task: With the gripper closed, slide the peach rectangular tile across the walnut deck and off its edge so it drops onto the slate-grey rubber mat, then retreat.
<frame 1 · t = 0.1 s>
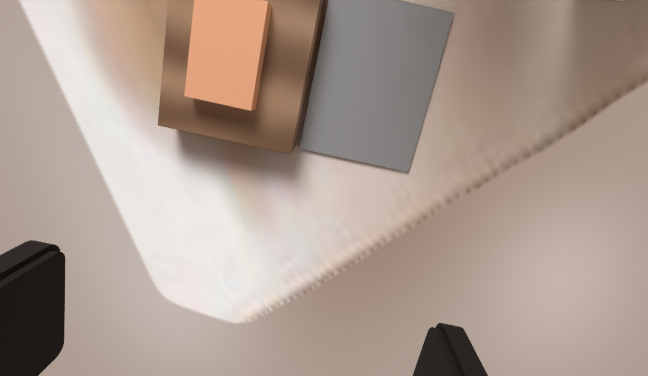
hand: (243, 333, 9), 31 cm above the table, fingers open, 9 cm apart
deck: (246, 56, 37), on the table
peach rectangular tile: (231, 52, 33), point 4 cm above the table, touching deck
mat: (372, 84, 37), on the table
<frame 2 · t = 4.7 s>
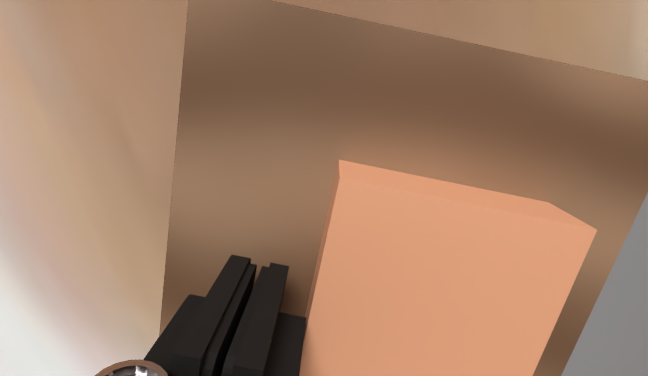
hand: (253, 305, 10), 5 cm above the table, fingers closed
deck: (363, 252, 15), on the table
peach rectangular tile: (402, 317, 11), point 4 cm above the table, touching deck, gripper
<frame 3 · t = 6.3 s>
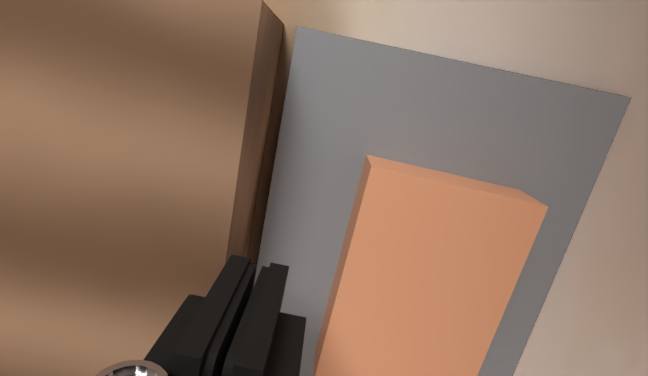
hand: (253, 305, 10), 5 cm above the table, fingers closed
deck: (94, 199, 15), on the table
peach rectangular tile: (420, 303, 13), point 2 cm above the table, tilted 180°, touching mat
mat: (405, 261, 15), on the table
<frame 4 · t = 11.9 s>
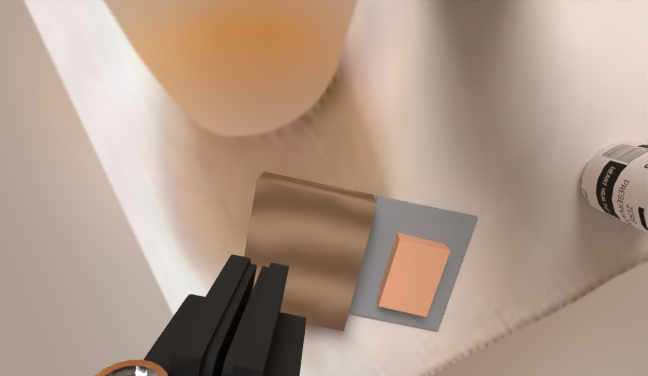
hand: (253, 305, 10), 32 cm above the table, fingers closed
supplement can: (613, 175, 42), on the table
deck: (305, 245, 45), on the table
peach rectangular tile: (413, 279, 43), point 2 cm above the table, tilted 180°, touching mat
mat: (408, 266, 45), on the table
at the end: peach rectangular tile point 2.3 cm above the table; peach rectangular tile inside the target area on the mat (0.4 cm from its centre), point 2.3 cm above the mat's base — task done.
